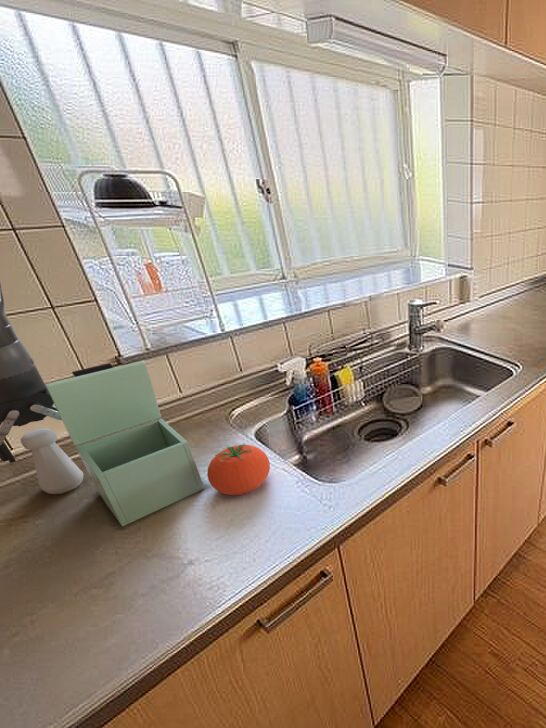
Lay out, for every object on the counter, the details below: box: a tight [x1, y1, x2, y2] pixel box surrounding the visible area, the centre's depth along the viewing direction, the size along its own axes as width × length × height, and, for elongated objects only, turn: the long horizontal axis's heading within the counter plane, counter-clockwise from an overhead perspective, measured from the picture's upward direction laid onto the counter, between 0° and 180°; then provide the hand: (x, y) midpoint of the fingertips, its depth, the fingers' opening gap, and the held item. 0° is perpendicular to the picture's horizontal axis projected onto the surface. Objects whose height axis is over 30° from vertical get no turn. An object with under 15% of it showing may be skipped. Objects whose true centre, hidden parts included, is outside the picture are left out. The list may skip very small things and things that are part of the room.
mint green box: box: [75, 418, 205, 527], centre depth 78 cm, size 13×13×12 cm
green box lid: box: [45, 360, 162, 447], centre depth 75 cm, size 13×13×5 cm
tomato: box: [206, 443, 271, 496], centre depth 81 cm, size 10×10×10 cm
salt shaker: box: [19, 427, 84, 495], centre depth 78 cm, size 6×6×13 cm
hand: (46, 449), depth 76 cm, fingers open, 8 cm apart
